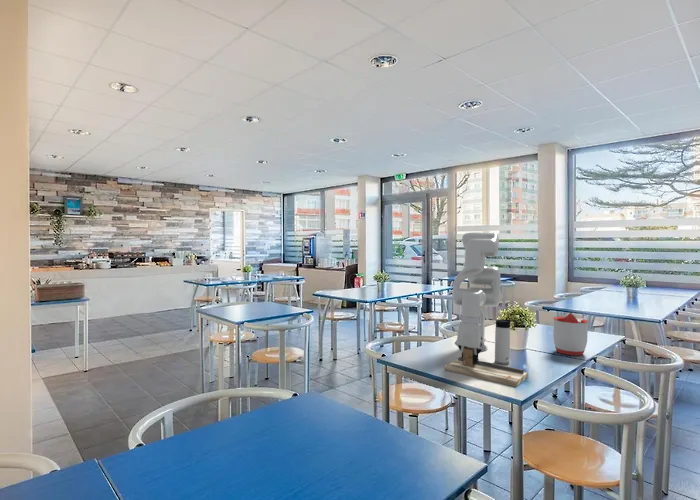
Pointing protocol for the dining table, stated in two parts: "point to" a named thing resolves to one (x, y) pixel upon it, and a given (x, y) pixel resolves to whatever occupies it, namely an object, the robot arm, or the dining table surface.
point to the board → (489, 372)
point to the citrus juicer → (570, 335)
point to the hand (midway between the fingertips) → (469, 361)
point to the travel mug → (502, 341)
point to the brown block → (468, 356)
